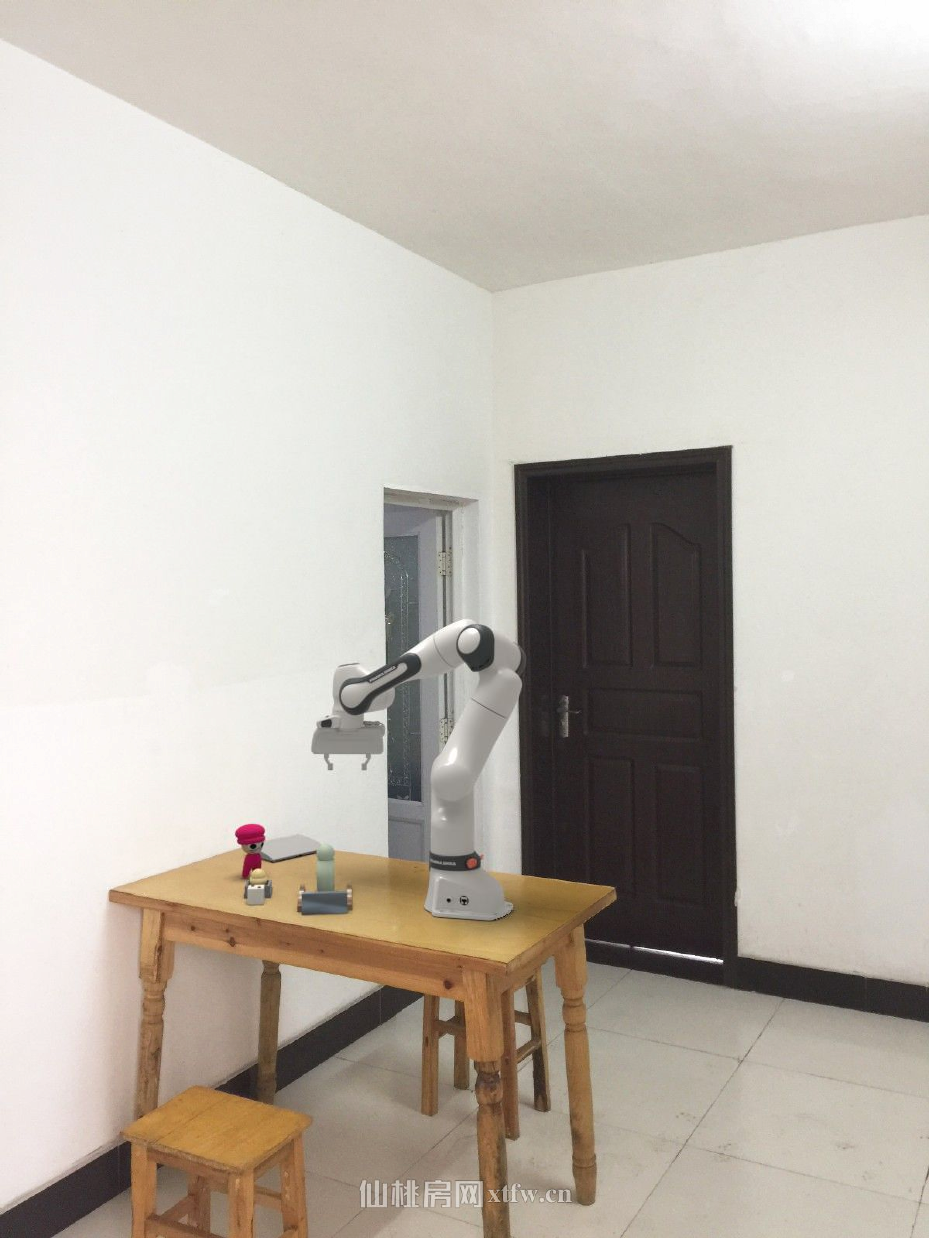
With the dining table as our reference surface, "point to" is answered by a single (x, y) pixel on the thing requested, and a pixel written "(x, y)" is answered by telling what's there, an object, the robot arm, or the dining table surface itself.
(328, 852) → the pawn
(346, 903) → the track
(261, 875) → the dome
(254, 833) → the toy
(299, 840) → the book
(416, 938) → the dining table surface
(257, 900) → the die
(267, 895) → the base
